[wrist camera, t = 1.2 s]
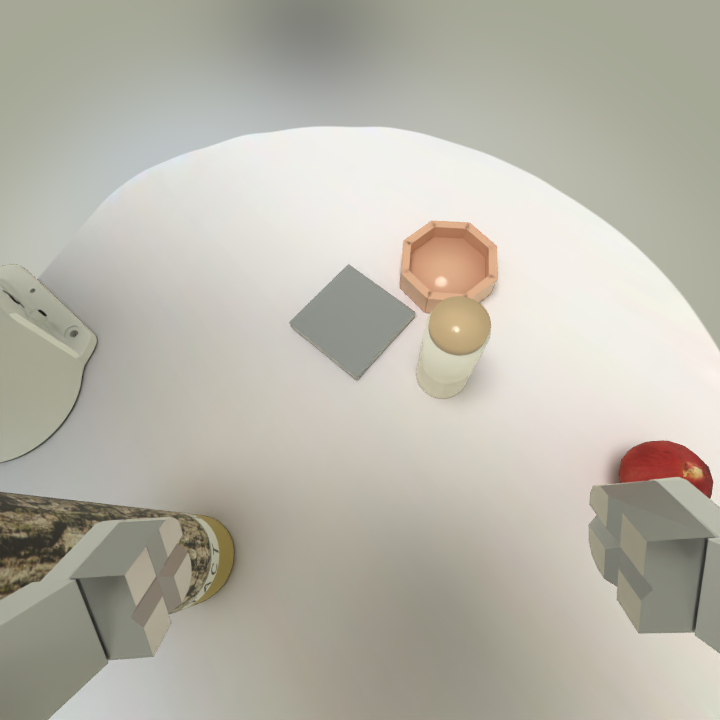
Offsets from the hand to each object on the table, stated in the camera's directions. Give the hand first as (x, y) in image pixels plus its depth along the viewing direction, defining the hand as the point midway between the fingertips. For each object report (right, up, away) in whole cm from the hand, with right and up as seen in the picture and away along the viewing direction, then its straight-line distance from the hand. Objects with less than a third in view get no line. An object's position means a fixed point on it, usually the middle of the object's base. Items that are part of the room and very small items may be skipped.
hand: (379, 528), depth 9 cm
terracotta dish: (+9, +12, +37) cm, 40 cm away
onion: (+23, -7, +29) cm, 38 cm away
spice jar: (+7, +2, +33) cm, 34 cm away
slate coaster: (-1, +7, +36) cm, 36 cm away
